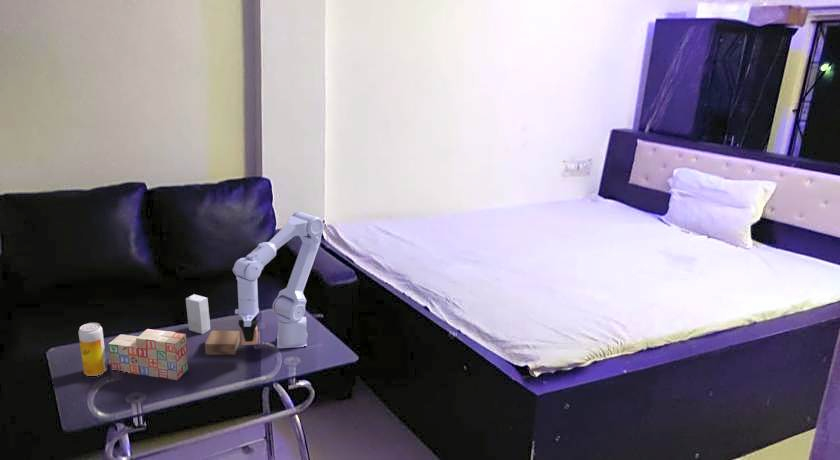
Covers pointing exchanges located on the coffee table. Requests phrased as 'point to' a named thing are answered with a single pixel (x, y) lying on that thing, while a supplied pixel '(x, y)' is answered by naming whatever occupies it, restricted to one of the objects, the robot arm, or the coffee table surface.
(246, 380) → the coffee table surface
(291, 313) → the robot arm
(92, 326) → the beer can
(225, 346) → the walnut block
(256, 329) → the terracotta cube
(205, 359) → the coffee table surface
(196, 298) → the skincare box
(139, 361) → the stack of blocks
